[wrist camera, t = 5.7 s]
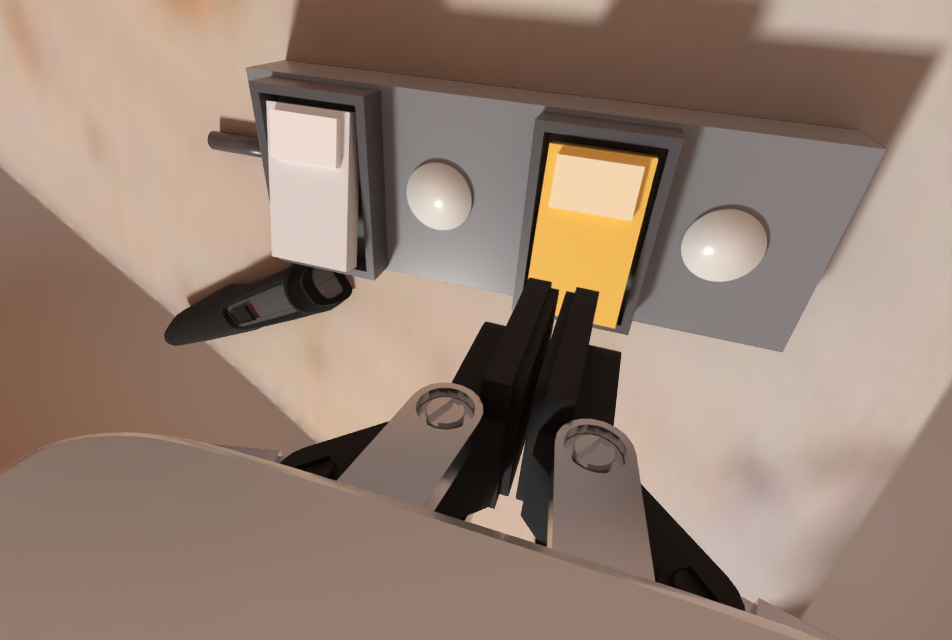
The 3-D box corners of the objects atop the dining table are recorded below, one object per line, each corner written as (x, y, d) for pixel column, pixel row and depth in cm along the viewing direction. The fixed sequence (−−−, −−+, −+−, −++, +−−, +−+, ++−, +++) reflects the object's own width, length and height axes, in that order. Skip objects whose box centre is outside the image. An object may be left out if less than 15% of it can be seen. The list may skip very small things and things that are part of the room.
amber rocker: (615, 319, 22) (614, 332, 21) (527, 300, 23) (521, 312, 22) (657, 155, 19) (658, 159, 18) (553, 140, 20) (547, 144, 19)
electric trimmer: (179, 298, 38) (145, 320, 36) (328, 242, 31) (298, 265, 29) (210, 338, 40) (179, 362, 37) (359, 294, 33) (333, 320, 30)
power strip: (770, 317, 25) (789, 373, 21) (236, 212, 32) (180, 242, 28) (859, 129, 20) (904, 161, 16) (201, 50, 26) (127, 60, 23)
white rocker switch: (356, 266, 25) (342, 274, 23) (284, 251, 25) (267, 257, 24) (361, 113, 22) (345, 112, 21) (280, 101, 23) (260, 99, 22)
